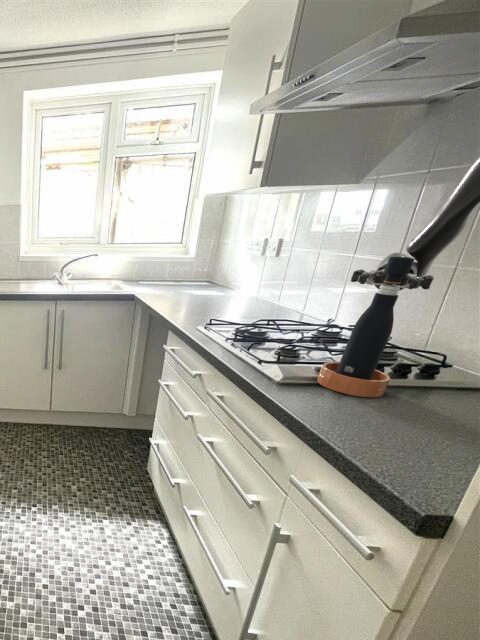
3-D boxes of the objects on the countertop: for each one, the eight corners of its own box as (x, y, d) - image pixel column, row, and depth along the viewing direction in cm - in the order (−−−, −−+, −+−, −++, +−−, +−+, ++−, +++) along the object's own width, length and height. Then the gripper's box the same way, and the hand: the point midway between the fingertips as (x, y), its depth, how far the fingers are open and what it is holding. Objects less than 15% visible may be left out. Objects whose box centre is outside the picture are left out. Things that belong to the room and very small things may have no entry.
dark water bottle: (362, 384, 101) (417, 257, 89) (369, 394, 96) (428, 260, 84) (329, 379, 105) (378, 255, 92) (334, 387, 99) (386, 258, 87)
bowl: (339, 376, 108) (345, 360, 106) (395, 395, 97) (403, 378, 95) (304, 381, 104) (310, 364, 102) (358, 402, 94) (366, 383, 92)
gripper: (364, 257, 112) (353, 262, 102) (441, 263, 102) (437, 269, 92) (354, 286, 114) (342, 293, 105) (427, 294, 105) (422, 302, 95)
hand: (387, 282), depth 98 cm, fingers open, 8 cm apart
